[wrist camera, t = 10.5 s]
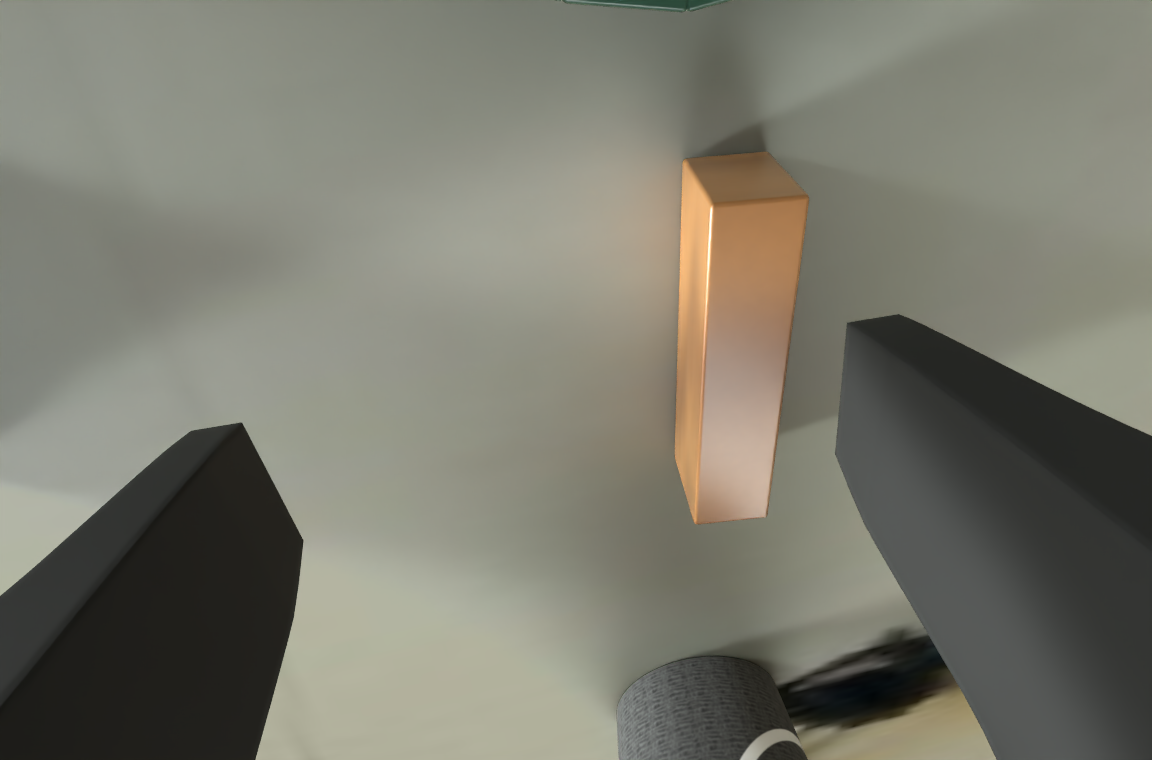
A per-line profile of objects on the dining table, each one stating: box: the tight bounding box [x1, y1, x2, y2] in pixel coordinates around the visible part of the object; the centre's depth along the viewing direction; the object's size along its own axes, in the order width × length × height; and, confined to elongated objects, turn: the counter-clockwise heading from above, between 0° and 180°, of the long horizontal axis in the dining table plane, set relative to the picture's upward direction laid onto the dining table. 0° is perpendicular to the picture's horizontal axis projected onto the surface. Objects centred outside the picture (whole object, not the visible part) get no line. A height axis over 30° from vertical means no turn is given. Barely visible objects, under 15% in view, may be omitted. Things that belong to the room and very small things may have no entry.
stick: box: [675, 152, 809, 524], centre depth 18 cm, size 9×2×3 cm, turn 3°
